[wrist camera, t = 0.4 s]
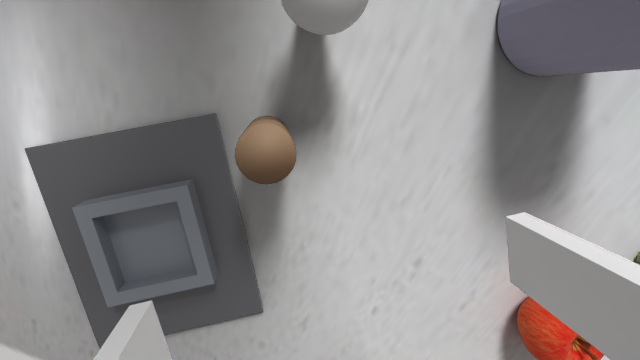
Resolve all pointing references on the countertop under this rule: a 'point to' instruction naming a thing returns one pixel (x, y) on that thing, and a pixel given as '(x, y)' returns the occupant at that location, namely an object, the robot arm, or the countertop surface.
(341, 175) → the countertop surface
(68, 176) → the socket
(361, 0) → the lightbulb
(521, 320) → the apple
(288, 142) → the peg
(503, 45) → the container
